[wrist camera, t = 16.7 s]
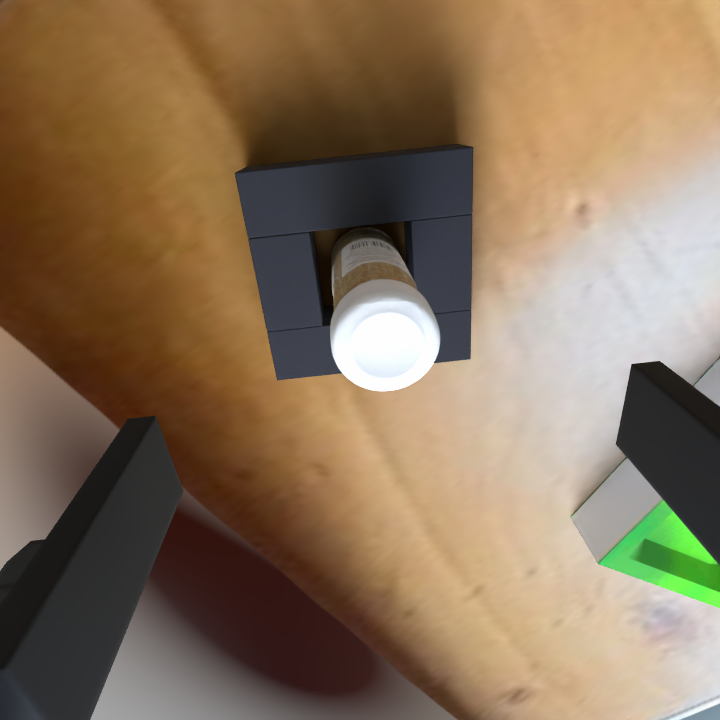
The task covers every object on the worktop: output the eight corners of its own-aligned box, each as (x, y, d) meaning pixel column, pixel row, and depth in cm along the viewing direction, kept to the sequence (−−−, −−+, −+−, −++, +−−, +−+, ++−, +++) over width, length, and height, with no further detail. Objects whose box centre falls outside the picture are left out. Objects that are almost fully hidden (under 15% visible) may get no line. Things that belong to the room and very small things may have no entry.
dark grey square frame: (245, 166, 28) (234, 172, 25) (458, 143, 28) (473, 146, 25) (282, 356, 34) (277, 380, 31) (458, 337, 34) (470, 359, 31)
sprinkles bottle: (322, 280, 31) (315, 378, 19) (343, 214, 29) (351, 277, 17) (385, 301, 32) (417, 406, 20) (410, 238, 30) (461, 313, 18)
